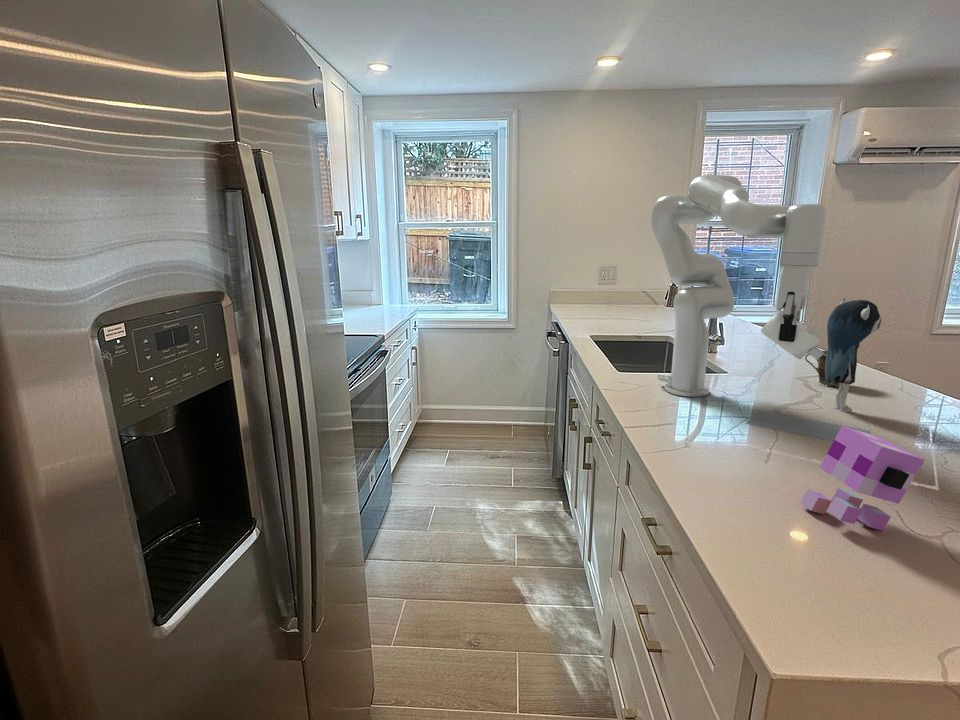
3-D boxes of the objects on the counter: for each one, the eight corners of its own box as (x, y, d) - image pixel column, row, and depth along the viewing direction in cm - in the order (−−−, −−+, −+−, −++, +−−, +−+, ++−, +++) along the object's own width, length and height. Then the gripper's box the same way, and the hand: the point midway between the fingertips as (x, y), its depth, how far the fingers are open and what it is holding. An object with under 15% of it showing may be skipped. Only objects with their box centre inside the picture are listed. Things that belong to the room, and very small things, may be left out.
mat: (745, 425, 125) (746, 423, 125) (757, 412, 135) (757, 409, 135) (866, 450, 110) (866, 447, 110) (869, 432, 120) (869, 430, 120)
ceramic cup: (849, 383, 161) (854, 352, 158) (851, 391, 152) (857, 358, 150) (801, 377, 167) (806, 348, 165) (801, 384, 159) (806, 354, 157)
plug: (758, 330, 121) (777, 311, 118) (762, 328, 124) (780, 309, 121) (809, 367, 116) (829, 348, 112) (812, 364, 118) (832, 345, 115)
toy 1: (875, 421, 127) (898, 303, 120) (828, 419, 129) (847, 302, 122) (849, 404, 140) (867, 297, 133) (806, 402, 142) (823, 296, 135)
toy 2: (795, 498, 89) (836, 422, 85) (833, 508, 90) (875, 434, 86) (841, 534, 78) (889, 450, 75) (883, 546, 80) (933, 463, 76)
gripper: (786, 259, 123) (776, 332, 128) (773, 262, 111) (762, 343, 115) (823, 259, 119) (811, 336, 123) (813, 262, 106) (801, 347, 110)
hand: (788, 338), depth 119 cm, fingers closed on plug, 4 cm apart
